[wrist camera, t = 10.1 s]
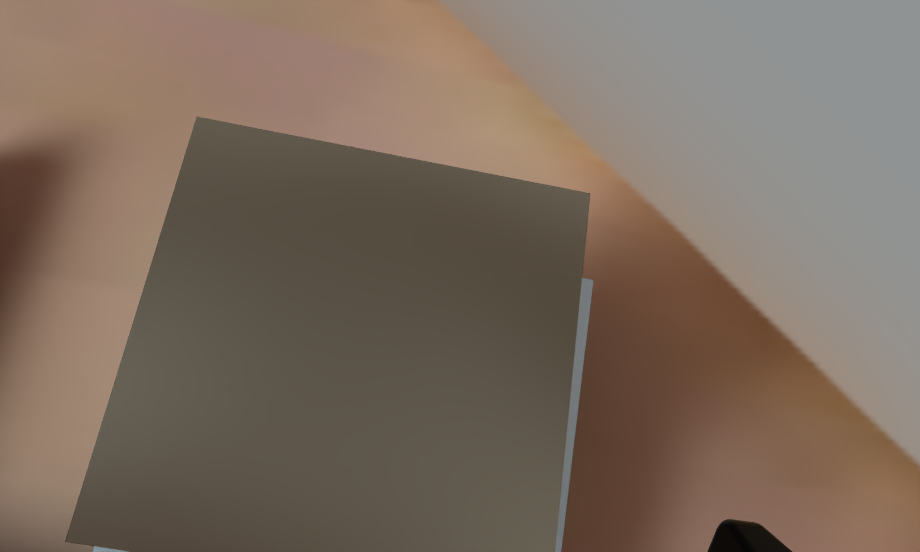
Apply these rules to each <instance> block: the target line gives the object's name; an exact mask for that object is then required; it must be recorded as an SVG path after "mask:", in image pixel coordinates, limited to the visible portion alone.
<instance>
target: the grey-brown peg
mask: <svg viewBox="0 0 920 552" xmlns="http://www.w3.org/2000/svg"><path fill="white" fill-rule="evenodd" d="M589 202H590V193H586V192H580V191H575V190H570V189H565V188H560V187H555V186H550V185H544V184H539V183H534V182H529V181H524V180H519V179H514V178H509V177H503V176H498V175H493V174H488V173H483V172H478V171H473V170H468V169H462V168H457V167H452V166H447V165H442V164H437V163H432V162H427V161H421V160H416V159H411V158H406V157H401V156H396V155H391V154H386V153H380V152H375V151H370V150H365V149H360V148H355V147H350V146H344V145H339V144H334V143H329V142H324V141H319V140H314V139H309V138H303V137H298V136H293V135H288V134H283V133H278V132H273V131H268V130H262V129H257V128H252V127H247V126H242V125H237V124H232V123H227V122H221V121H216V120H211V119H206V118H201V117H197V118H196V121H195V124H194V127H193V131H192V134H191V137H190V140H189V144H188V147H187V150H186V153H185V156H184V160H183V163H182V166H181V169H180V173H179V176H178V179H177V182H176V185H175V189H174V192H173V195H172V198H171V202H170V205H169V208H168V211H167V215H166V218H165V221H164V224H163V227H162V231H161V234H160V237H159V240H158V244H157V247H156V250H155V253H154V256H153V260H152V263H151V266H150V269H149V273H148V276H147V279H146V282H145V285H144V289H143V292H142V295H141V298H140V302H139V305H138V308H137V311H136V315H135V318H134V321H133V324H132V327H131V331H130V334H129V337H128V340H127V344H126V347H125V350H124V353H123V356H122V360H121V363H120V366H119V369H118V373H117V376H116V379H115V382H114V385H113V389H112V392H111V395H110V398H109V402H108V405H107V408H106V411H105V415H104V418H103V421H102V424H101V427H100V431H99V434H98V437H97V440H96V444H95V447H94V450H93V453H92V456H91V460H90V463H89V466H88V469H87V473H86V476H85V479H84V482H83V485H82V489H81V492H80V495H79V498H78V502H77V505H76V508H75V511H74V515H73V518H72V521H71V524H70V527H69V531H68V534H67V537H66V540H65V542H70V543H77V544H83V545H90V546H96V547H103V548H109V549H116V550H122V551H129V552H555V548H556V538H557V528H558V518H559V508H560V497H561V487H562V477H563V467H564V457H565V446H566V436H567V426H568V416H569V406H570V395H571V385H572V375H573V365H574V355H575V344H576V334H577V324H578V314H579V304H580V293H581V283H582V273H583V263H584V253H585V242H586V232H587V222H588V212H589Z"/></svg>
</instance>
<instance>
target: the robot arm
mask: <svg viewBox="0 0 920 552" xmlns="http://www.w3.org/2000/svg"><path fill="white" fill-rule="evenodd" d="M708 552H792V551H791V550H790V549H788V548H787V547H786V546H785V545H784V544H783V543H782V542H780V541H779V540H778V539H777V538H776V537H775V536H773V535H772V534H771V533H770V532H769V531H768V530H766V529H765V528H764V527H763V526H761V525H760V524H758V523H754V522H747V521H740V520H732V519H727V520H724V521H723V522H721V524H720V525H719V526H718V528H717V530H716V532H715V535H714V537H713V540H712V542H711V545H710V547H709V549H708Z"/></svg>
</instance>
